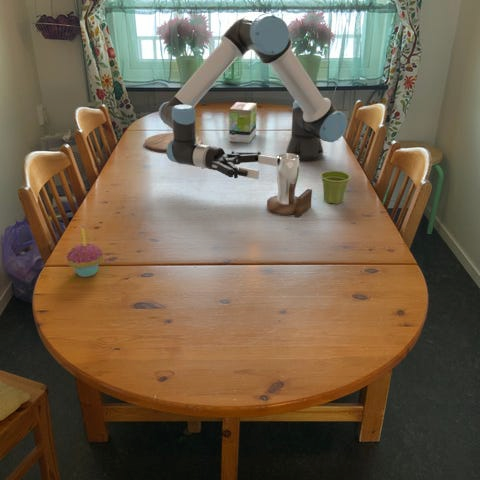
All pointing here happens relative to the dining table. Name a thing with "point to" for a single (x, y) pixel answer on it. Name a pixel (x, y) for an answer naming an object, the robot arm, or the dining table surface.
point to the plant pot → (334, 186)
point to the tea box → (242, 122)
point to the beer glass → (287, 178)
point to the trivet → (162, 142)
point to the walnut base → (297, 209)
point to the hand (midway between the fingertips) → (267, 168)
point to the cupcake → (85, 258)
